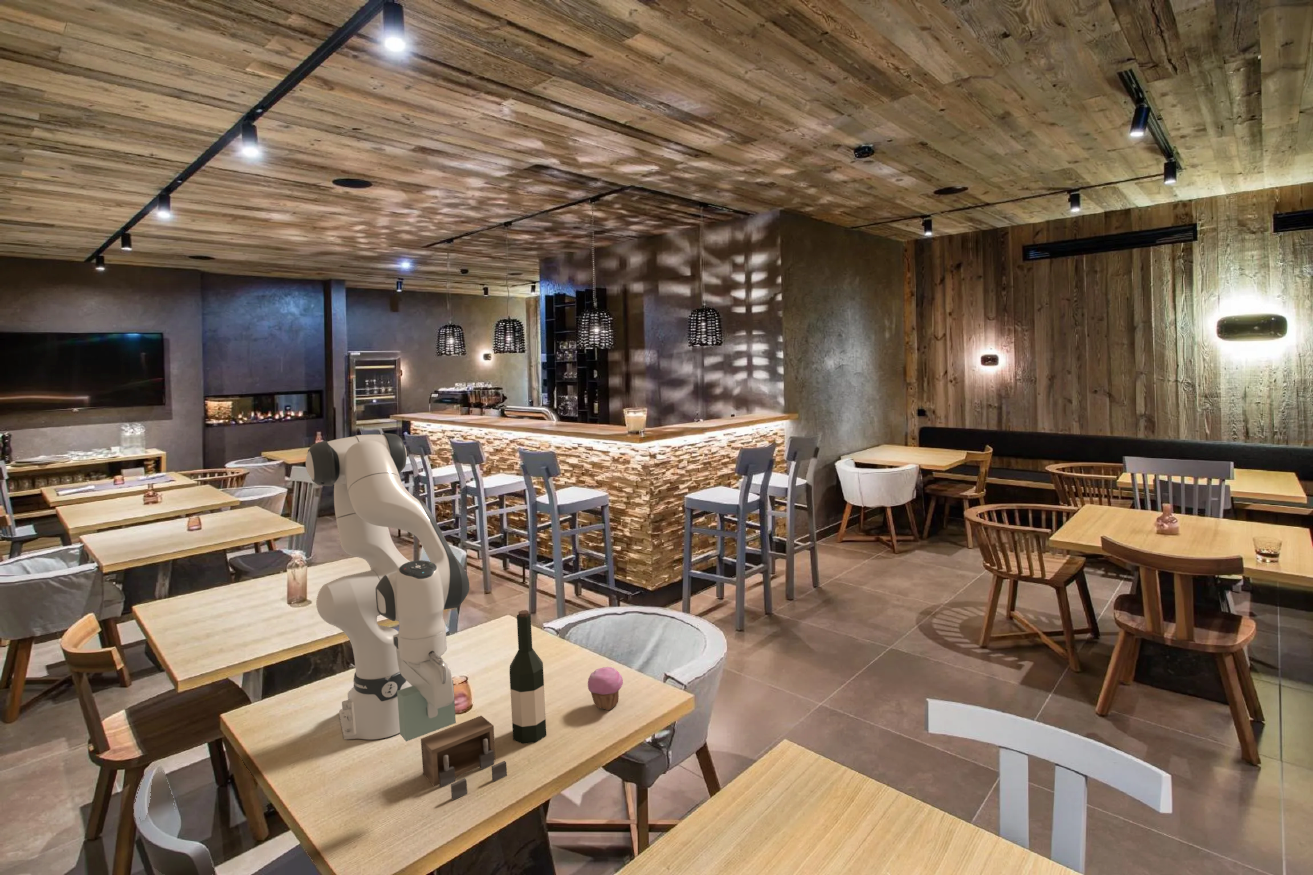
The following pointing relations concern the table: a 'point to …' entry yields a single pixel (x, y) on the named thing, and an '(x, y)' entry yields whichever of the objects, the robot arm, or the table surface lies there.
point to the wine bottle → (527, 687)
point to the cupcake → (605, 687)
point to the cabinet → (460, 754)
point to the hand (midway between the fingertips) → (427, 711)
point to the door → (420, 714)
